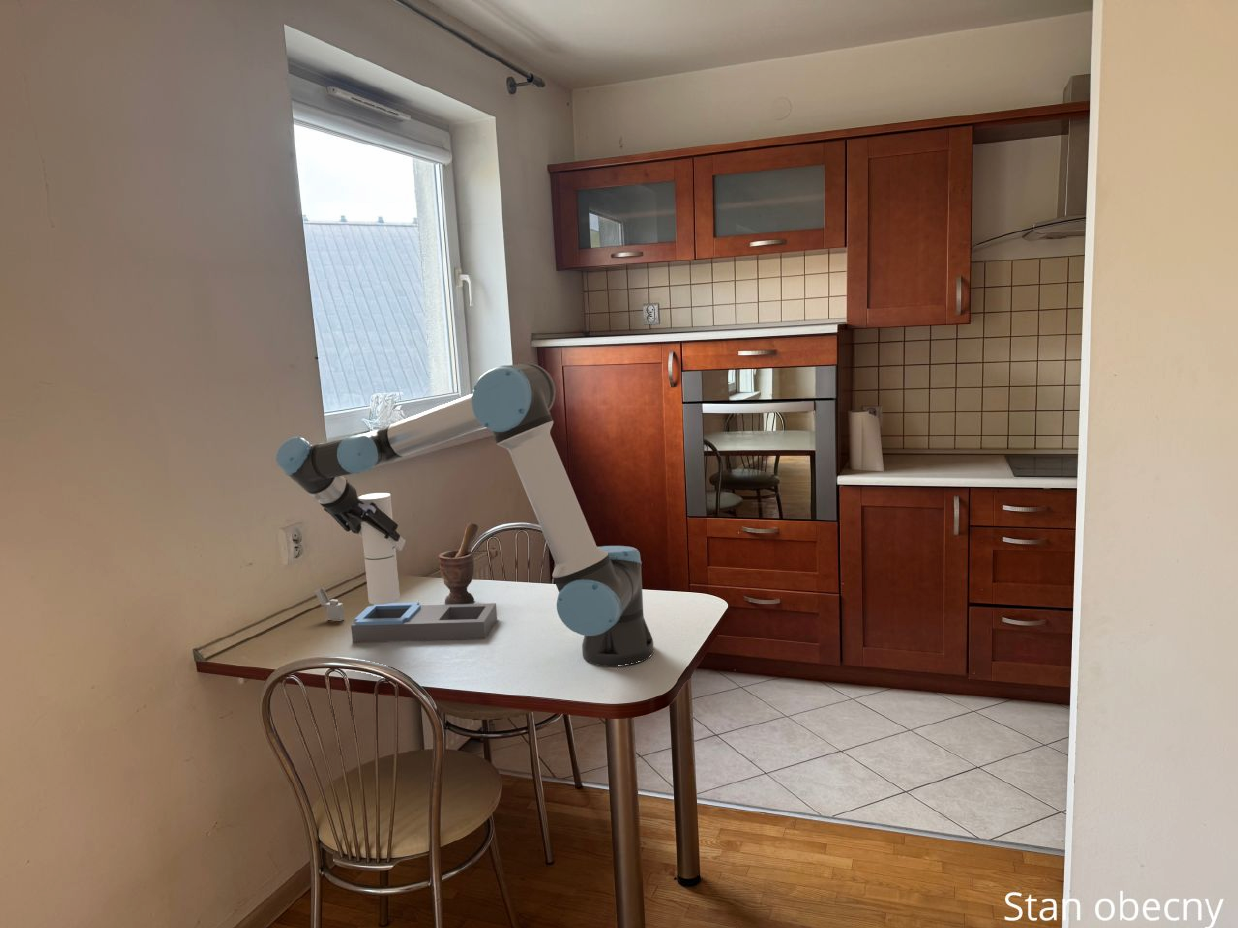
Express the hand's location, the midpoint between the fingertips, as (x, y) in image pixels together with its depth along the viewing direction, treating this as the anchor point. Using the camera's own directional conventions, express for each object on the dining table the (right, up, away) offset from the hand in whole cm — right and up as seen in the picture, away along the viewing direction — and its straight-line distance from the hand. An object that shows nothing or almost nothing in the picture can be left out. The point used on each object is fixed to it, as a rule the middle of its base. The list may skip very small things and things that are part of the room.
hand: (389, 544), depth 201 cm
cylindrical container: (-1, -13, -1) cm, 13 cm away
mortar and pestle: (+14, -17, +20) cm, 30 cm away
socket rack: (+9, -20, -1) cm, 22 cm away
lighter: (-17, -20, +11) cm, 29 cm away
